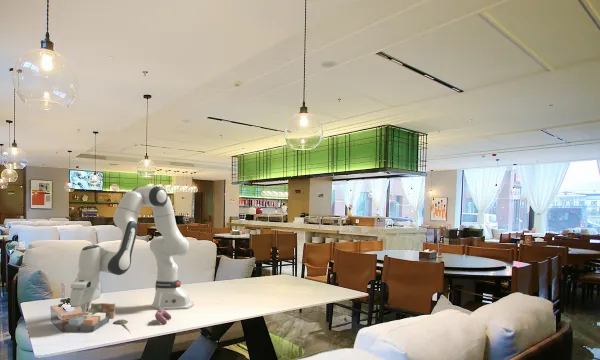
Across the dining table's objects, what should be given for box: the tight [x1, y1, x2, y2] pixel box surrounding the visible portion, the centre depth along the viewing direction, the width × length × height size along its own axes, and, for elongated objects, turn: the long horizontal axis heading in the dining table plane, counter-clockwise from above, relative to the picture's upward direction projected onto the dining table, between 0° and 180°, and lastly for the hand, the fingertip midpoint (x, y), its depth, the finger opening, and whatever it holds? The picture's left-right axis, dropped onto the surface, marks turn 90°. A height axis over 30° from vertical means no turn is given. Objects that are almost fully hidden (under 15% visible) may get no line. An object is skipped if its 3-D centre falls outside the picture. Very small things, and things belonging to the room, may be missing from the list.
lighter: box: [57, 297, 70, 307], centre depth 176 cm, size 8×3×10 cm, turn 145°
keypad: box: [63, 317, 110, 333], centre depth 162 cm, size 12×15×4 cm
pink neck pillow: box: [154, 309, 172, 325], centre depth 177 cm, size 10×5×7 cm, turn 5°
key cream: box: [91, 313, 106, 321], centre depth 166 cm, size 4×5×3 cm
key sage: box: [83, 312, 92, 319], centre depth 166 cm, size 4×5×3 cm
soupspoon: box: [112, 319, 131, 333], centre depth 165 cm, size 22×3×7 cm
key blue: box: [67, 316, 84, 325], centre depth 159 cm, size 4×5×3 cm
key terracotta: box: [83, 317, 98, 325], centre depth 159 cm, size 4×5×3 cm
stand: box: [89, 302, 116, 319], centre depth 176 cm, size 12×4×8 cm, turn 93°
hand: (85, 312), depth 166 cm, fingers closed
